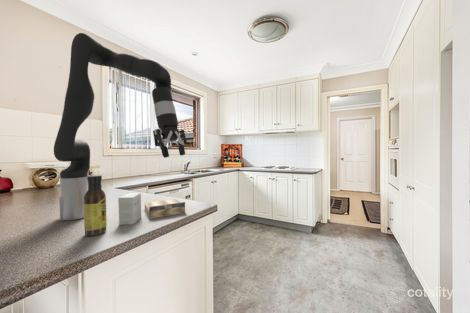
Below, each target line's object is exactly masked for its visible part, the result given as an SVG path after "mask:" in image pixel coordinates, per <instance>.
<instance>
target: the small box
mask: <svg viewBox="0 0 470 313" xmlns="http://www.w3.org/2000/svg"><path fill="white" fill-rule="evenodd" d="M141 198H142V193H139V192H138V193H137V192H136V193H135V192H134V193H133V192H132V193H131V192H130V193H129V192H128V193H126V194H124V195H122V196H120V197H118V225H121V226H124V225H134V224H135V223H136V222H138V221H139V220H140V219H141V218H142V199H141Z"/></svg>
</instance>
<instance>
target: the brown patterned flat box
mask: <svg viewBox="0 0 470 313" xmlns="http://www.w3.org/2000/svg"><path fill="white" fill-rule="evenodd" d="M144 211H145V213H146V215H147V216H148V218H149V219H156V218H162V217H168V216H173V215H178V214H179V215H180V214H185V213H186V201H182V202H180V200H178V199H176V198H174V199H172V198H171V199H166V200H158V201H150V202H144Z"/></svg>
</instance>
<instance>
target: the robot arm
mask: <svg viewBox="0 0 470 313" xmlns="http://www.w3.org/2000/svg"><path fill="white" fill-rule="evenodd" d="M71 42H72V43H71V47H70V63H69V66H70V67H69V74H68V81H67V88H66V92H65V96H64V97H65V98H64V103H63V110H62V115H61V121H60V124H59V128H58V131H57V135H56V137H55V141H54V144H53V145H54V146H53V155H54V158H55V159H56V160H57V161H59V162H63V163H64V162H66V163H67V162H70V164H69V166H67V167H66V168H64V169H63V170H61V171H60V172H59V184H60V186H59V187H60V196H59V198H58V200H59V201H58V203H59V204H58V205H59V221H75V220H79V219H84V196H85V194H86V192H87V191H88V180H87V177H88V176H89V175H88V174H89V171H90V166H91V165H90V164H91V149H90V145H89V144H88V142H86V141H85V140H83V139H76V136H77V133H78V130H79V128H80V127H81V125H83V123H84V122H85V121H86V120H87V119H88V118H89V116H90V115H91V113H92V111H93V107H94V103H95V102H94V101H95V92H94V88H93V85H92V82H91V80H90V76H89V64H91V65H96V66H103V67H108V68H112V69H116V70H118V71H122V72H124V73H126V74H128V75H132V76H134V77H138V78H144V79H146V80H149V81H151V82H152V83H154V86H155V88H153V89H152V91H151V96H152V100H153V104H154V113H155V118H156V122H157V123H156V124H157V128H156V129H154V130H153V131H152V135H153V140H154V145H155V147H158V148H160V150H161V154H162V157H163V158H169V157H170V154H169V148H168V147H167V146H168V143H169V142H173V143H175V144H176V145H177V146H178V147H177V148H178V153H179V156H185V155H186V150H185V145H187V144H188V141H187V137H186V133H185V130H184V129H179V128H178V126H179V121H178V116H177V113H176V107H175V105H174V102H173V101H174V100H173V97H172V92H171V90H172V78H171V75H170V72H169V71H168V70H167V69H166V68H165V67H164V66H163V65H161V64H160V63H158V61H157V62H156V61H155V60H152V59H148V58H142V57H138V56H135V55H132V54H128V53H119V52H115V51H113V50H112V49H109V48H107V47H106V46H104V45H103V44H102V43H101V42H100V41H98V40H96V39H94V38H93V37H92V36H90V35H88V34H86V33H85V32H80V33H77V34H76V35H75V36H74V37H73V38H72V41H71Z"/></svg>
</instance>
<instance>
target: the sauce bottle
mask: <svg viewBox="0 0 470 313" xmlns="http://www.w3.org/2000/svg"><path fill="white" fill-rule="evenodd" d="M102 178H103V177H102V174H99V175H98V174H97V175H96V174H95V175H94V174H93V175H88V177H87V180H88V191H87V192H86V194H85V196H84V218H83V219H84V220H83V223H84V234H85V236H86V237H92V236H98V235H101V234H103V233H105V232H106V231H107V196H106V195H107V194H106V192H104V190H103V189H102Z"/></svg>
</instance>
